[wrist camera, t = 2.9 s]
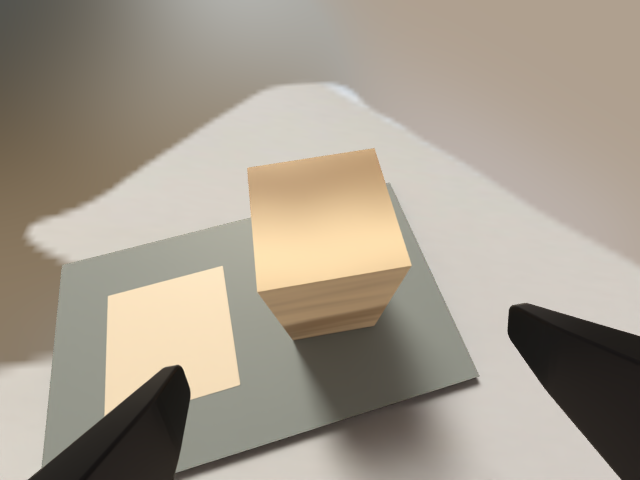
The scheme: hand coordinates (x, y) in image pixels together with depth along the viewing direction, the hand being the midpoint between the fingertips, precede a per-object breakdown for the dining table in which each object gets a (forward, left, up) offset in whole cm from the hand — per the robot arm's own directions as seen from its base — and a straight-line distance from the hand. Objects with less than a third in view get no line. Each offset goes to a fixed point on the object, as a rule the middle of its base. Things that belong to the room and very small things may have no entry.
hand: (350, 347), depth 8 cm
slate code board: (+6, 0, -11) cm, 13 cm away
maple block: (+3, -4, -11) cm, 12 cm away
